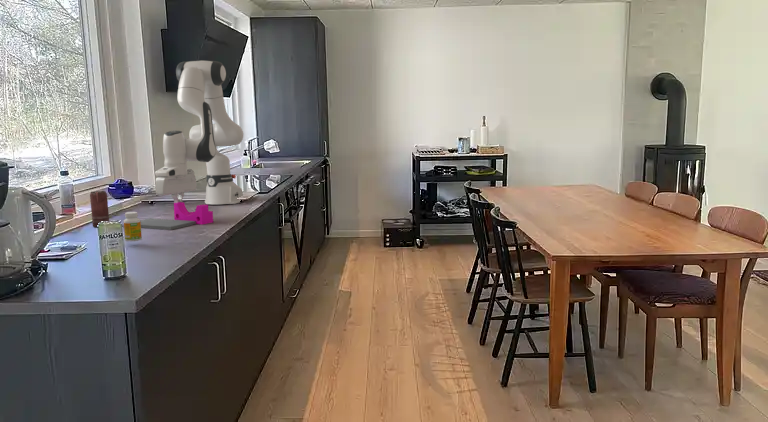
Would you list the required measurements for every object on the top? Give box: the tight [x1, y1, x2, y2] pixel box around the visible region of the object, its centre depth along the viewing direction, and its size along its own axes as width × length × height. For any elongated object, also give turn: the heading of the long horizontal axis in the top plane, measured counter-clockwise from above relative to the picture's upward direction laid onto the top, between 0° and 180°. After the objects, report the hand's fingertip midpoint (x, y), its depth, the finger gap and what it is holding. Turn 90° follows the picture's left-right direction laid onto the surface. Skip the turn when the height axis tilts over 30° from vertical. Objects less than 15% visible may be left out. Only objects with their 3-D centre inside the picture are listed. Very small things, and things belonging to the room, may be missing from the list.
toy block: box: [173, 201, 214, 225], centre depth 236 cm, size 15×6×8 cm, turn 64°
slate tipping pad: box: [140, 217, 197, 231], centre depth 231 cm, size 14×24×1 cm, turn 67°
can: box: [89, 190, 110, 228], centre depth 230 cm, size 6×6×14 cm
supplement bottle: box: [123, 211, 143, 242], centre depth 200 cm, size 5×5×10 cm
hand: (178, 203), depth 240 cm, fingers closed
